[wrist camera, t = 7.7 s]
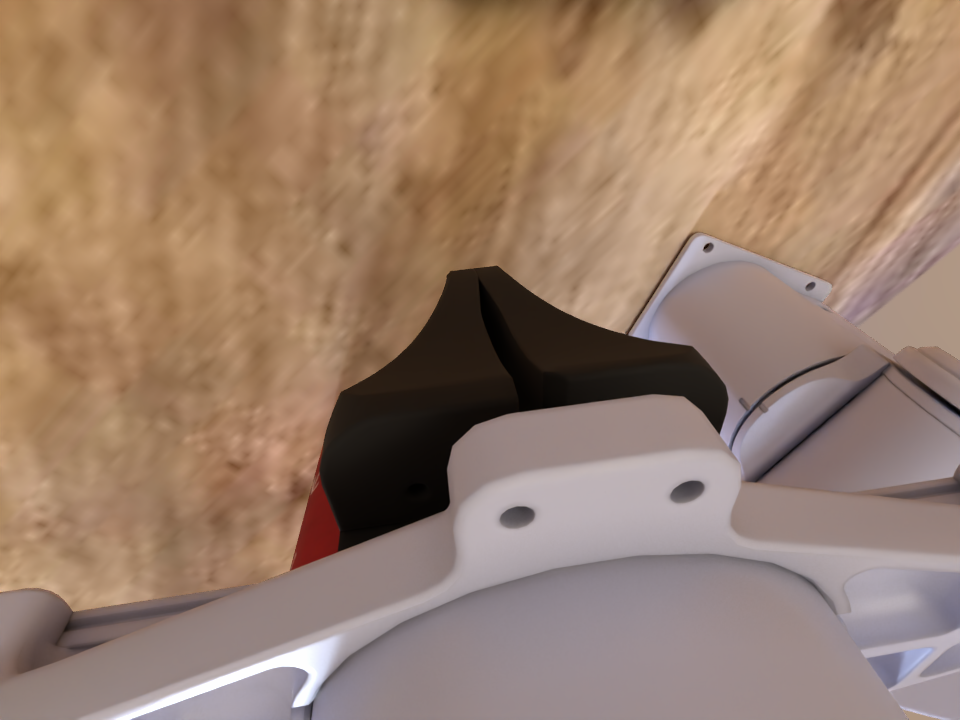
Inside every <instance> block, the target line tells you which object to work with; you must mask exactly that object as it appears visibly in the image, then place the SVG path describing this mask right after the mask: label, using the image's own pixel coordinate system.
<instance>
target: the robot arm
mask: <svg viewBox="0 0 960 720" xmlns="http://www.w3.org/2000/svg"><path fill="white" fill-rule="evenodd" d="M708 243H710V244H709V247H708V248H707V249H704V250H703V248H704V246H705V245H706V244H708ZM809 283H810V284H809ZM808 284H809V285H808ZM807 285H808V286H807ZM806 286H807V287H806ZM831 290H832V285H831V284H830V283H829V282H827V281H825V280H823V279H820V278H818V277H815V276H813V275H810V274H807V273H805V272H802V271H800V270H797V269H795V268H792V267H789V266H787V265H784V264H782V263H779V262H777V261H774V260H771V259H769V258H766V257H764V256H761V255H759V254H756V253H753V252H751V251H748V250H746V249H743V248H741V247H738V246H735V245H733V244H730V243H728V242H725V241H723V240H720V239H717V238H715V237H712V236H710V235H707V234H705V233H700V232H699V233H696V234H694V235H692V236H691V237H690V239H689V240H688V242H687V243H686V245H685V246H684V248H683V249H682V251H681V252H680V254H679V256H678V257H677V259H676V260H675V262H674V263H673V265H672V267H671V268H670V270H669V271H668V273H667V274H666V276H665V277H664V279H663V281H662V282H661V284H660V285H659V287H658V288H657V290H656V292H655V293H654V295H653V296H652V298H651V299H650V301H649V302H648V304H647V306H646V307H645V309H644V310H643V312H642V313H641V315H640V317H639V318H638V320H637V321H636V323H635V324H634V326H633V327H632V329H631V331H630V332H629V334H628V335H625V334H621V333H618V332H614V331H611V330H608V329H605V328H602V327H599V326H596V325H593V324H590V323H588V322H585V321H582V320H580V319H578V318H576V317H574V316H572V315H569V314H567V313H565V312H563V311H561V310H559V309H557V308H556V307H554V306H552V305H550V304H549V303H547V302H545V301H544V300H542V299H541V298H539V297H538V296H536V295H535V294H533V293H532V292H530V291H529V290H527V289H526V288H525V287H523V286H522V285H521V284H519V283H518V282H517V281H516V280H514V279H513V278H512V277H510V276H509V275H508V274H507V273H506V272H504V271H503V270H502V269H501V268H499V267H498V266H492V267H483V268H475V269H466V270H457V271H450V272H449V274H448V275H447V279H446V284H445V287H444V290H443V293H442V295H441V297H440V299H439V302H438V304H437V306H436V308H435V310H434V312H433V313H432V315H431V317H430V318H429V320H428V322H427V323H426V325H425V326H424V328H423V329H422V331H421V332H420V333H419V335H418V336H417V337H416V338H415V339H414V341H413V342H412V343H411V344H410V345H409V346H408V347H407V348H406V349H405V350H404V351H403V352H402V353H401V354H400V355H399V356H398V357H397V358H395V359H394V360H393V361H392V362H390V363H389V364H388V365H386V366H385V367H384V368H382V369H381V370H379V371H378V372H376V373H375V374H373V375H372V376H370V377H368V378H367V379H365V380H363V381H361V382H359V383H358V384H356V385H354V386H352V387H350V388H348V389H346V390H344V391H342V392H341V393H340V395H339V398H338V400H337V402H336V405H335V408H334V410H333V413H332V416H331V418H330V421H329V424H328V427H327V430H326V434H325V438H324V443H323V449H322V456H321V462H320V468H319V473H320V478H321V484H322V487H323V490H324V492H325V495H326V497H327V500H328V502H329V505H330V507H331V510H332V512H333V515H334V517H335V520H336V522H337V525H338V528H339V530H340V535H339V544H338V552H337V553H335V554H332V555H330V556H327V557H324V558H322V559H319V560H317V561H314V562H312V563H309V564H306V565H304V566H301V567H299V568H296V569H294V570H291V571H288V572H286V573H283V574H281V575H278V576H276V577H273V578H270V579H268V580H265V581H263V582H260V583H258V584H252V585H245V586H239V587H232V588H226V589H219V590H212V591H206V592H199V593H193V594H186V595H180V596H173V597H167V598H160V599H154V600H147V601H141V602H134V603H128V604H121V605H115V606H108V607H102V608H95V609H89V610H82V611H76V612H73V611H72V610H71V608H70V607H69V606H68V604H67V603H66V602H65V601H64V600H63V599H62V598H61V597H60V596H59V595H57V594H55V593H53V592H51V591H48V590H44V589H39V588H26V589H19V590H13V591H6V592H0V720H909V719H908V718H907V716H906V715H905V713H904V712H903V710H902V709H904V710H907V711H911V712H915V713H919V714H922V715H926V716H929V717H934V718H937V719H942V720H960V361H959V360H958V359H956V358H955V357H953V356H951V355H950V354H948V353H947V352H945V351H944V350H942V349H940V348H939V347H920V348H918V349H916V348H914V347H910V346H909V347H905V348H903V349H902V350H901V351H900V352H899V353H897V354H896V355H895V354H893V353H892V352H891V351H889V350H888V349H886V348H885V347H884V346H882V345H881V344H879V343H878V342H877V341H875V340H874V339H872V338H871V337H869V336H868V335H867V334H865V333H864V332H863V331H861V330H860V329H858V328H857V327H856V326H854V325H853V324H851V323H850V322H849V321H847V320H846V319H844V318H843V317H842V316H840V315H839V314H837V313H836V312H835V311H833V310H832V309H830V308H829V307H828V306H826V305H825V304H823V303H822V302H823V301H824V300H825V298H826V297H827V296H828V295H829V294H830V292H831Z"/></svg>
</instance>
